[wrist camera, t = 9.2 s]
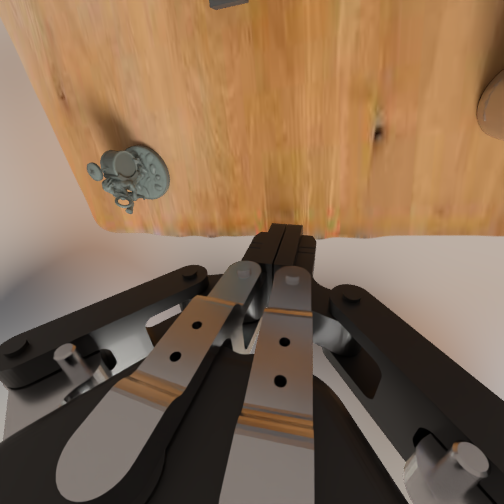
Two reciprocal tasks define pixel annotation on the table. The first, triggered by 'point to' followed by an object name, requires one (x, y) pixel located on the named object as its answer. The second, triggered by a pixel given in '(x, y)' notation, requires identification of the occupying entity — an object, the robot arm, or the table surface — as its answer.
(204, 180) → the table surface
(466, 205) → the table surface
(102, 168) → the figurine
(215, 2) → the chute
